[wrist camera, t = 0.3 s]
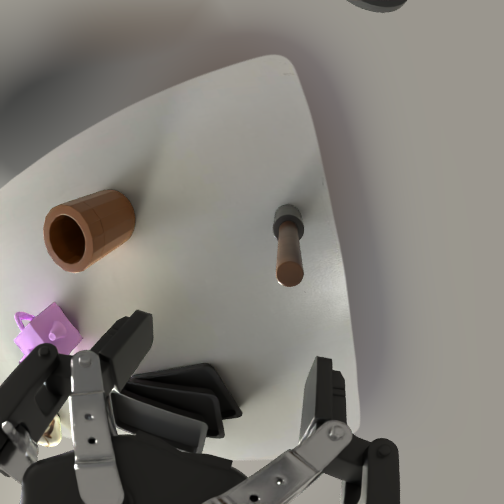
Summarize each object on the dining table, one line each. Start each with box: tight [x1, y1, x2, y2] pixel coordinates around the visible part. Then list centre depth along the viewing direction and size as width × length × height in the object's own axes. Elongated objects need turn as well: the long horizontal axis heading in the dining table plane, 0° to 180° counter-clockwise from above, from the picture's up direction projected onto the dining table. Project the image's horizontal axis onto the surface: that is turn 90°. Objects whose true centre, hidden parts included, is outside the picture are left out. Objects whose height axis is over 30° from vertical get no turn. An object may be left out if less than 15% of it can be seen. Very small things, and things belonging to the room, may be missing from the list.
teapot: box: [14, 302, 83, 364], centre depth 45 cm, size 15×13×11 cm
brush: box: [273, 205, 304, 287], centre depth 30 cm, size 3×3×18 cm
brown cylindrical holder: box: [43, 190, 135, 273], centre depth 36 cm, size 8×8×11 cm
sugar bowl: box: [38, 414, 62, 447], centre depth 57 cm, size 20×15×15 cm
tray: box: [109, 363, 242, 454], centre depth 50 cm, size 30×23×5 cm
